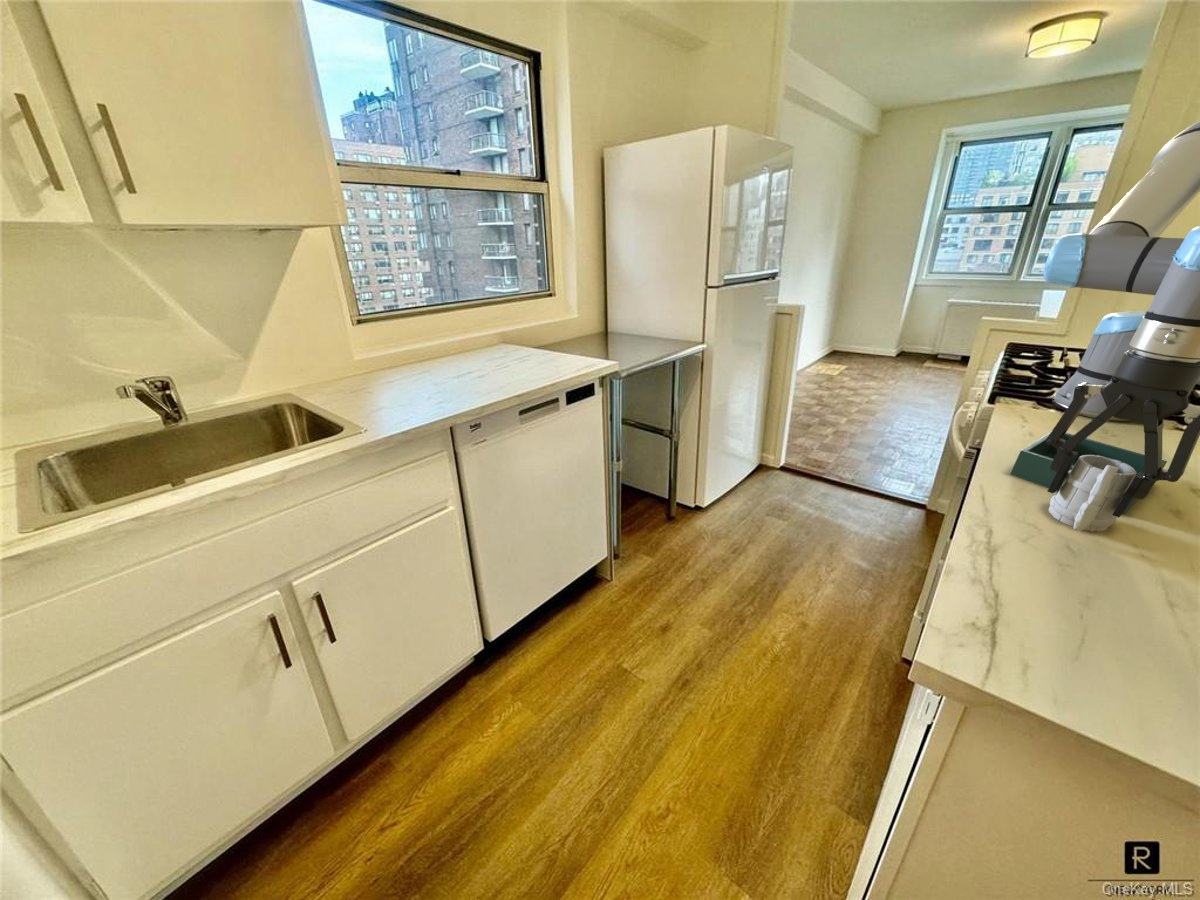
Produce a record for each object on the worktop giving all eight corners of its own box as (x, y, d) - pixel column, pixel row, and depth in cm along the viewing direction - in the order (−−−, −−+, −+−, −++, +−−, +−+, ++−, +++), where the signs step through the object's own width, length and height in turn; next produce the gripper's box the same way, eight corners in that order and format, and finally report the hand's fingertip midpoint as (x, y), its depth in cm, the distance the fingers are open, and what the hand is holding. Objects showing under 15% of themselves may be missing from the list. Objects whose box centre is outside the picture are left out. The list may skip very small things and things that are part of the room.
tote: (1044, 451, 97) (1054, 429, 95) (1152, 485, 86) (1167, 461, 83) (1009, 474, 89) (1020, 450, 87) (1124, 515, 78) (1140, 488, 75)
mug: (1110, 518, 77) (1150, 451, 71) (1107, 552, 69) (1152, 481, 64) (1048, 499, 81) (1081, 435, 76) (1040, 529, 74) (1076, 461, 68)
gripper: (1060, 341, 69) (998, 480, 79) (1283, 380, 54) (1171, 544, 65) (1079, 335, 72) (1017, 467, 83) (1292, 369, 58) (1184, 526, 68)
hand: (1084, 501), depth 74 cm, fingers closed on mug, 7 cm apart
